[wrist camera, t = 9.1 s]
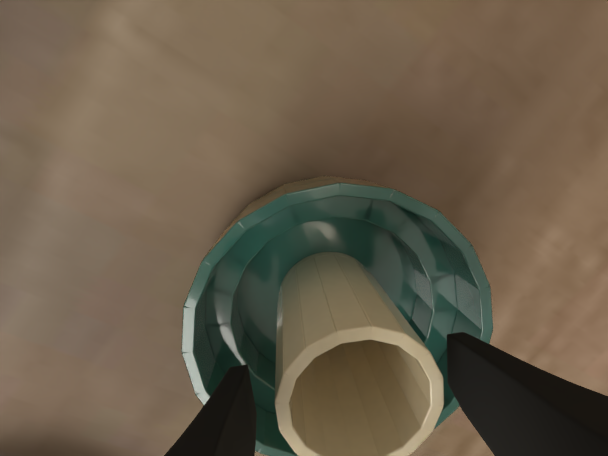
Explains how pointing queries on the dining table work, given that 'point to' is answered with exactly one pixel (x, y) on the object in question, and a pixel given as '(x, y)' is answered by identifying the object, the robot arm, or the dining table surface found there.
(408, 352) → the cup
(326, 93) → the dining table surface
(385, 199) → the bowl
